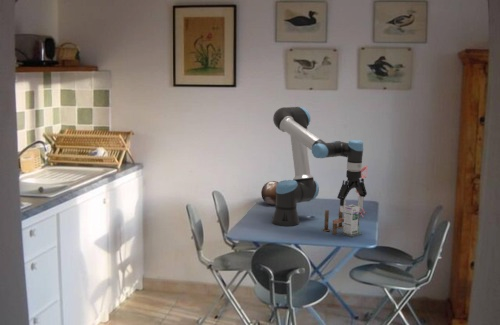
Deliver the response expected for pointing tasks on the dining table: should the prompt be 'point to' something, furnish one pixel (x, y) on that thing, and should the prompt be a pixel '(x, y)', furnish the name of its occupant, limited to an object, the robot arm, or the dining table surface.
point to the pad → (350, 234)
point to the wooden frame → (333, 222)
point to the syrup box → (351, 219)
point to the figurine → (362, 177)
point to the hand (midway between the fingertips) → (351, 210)
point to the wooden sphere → (269, 192)
